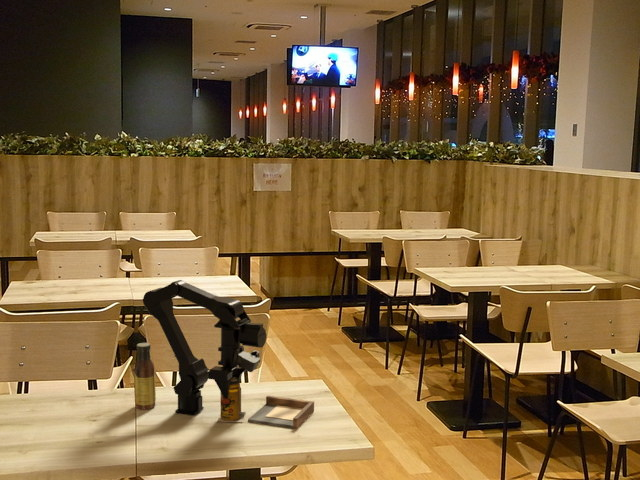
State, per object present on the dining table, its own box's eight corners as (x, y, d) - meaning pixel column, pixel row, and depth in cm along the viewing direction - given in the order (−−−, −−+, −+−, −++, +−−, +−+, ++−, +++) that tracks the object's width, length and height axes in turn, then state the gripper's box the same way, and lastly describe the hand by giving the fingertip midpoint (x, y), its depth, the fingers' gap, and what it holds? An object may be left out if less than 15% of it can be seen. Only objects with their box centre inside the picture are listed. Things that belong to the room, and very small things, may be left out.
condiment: (216, 421, 231) (217, 381, 229) (222, 411, 239) (222, 373, 238) (241, 422, 230) (242, 382, 229) (246, 412, 239) (246, 374, 237)
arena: (248, 421, 231) (248, 412, 231) (267, 404, 246) (267, 395, 245) (297, 428, 227) (297, 418, 226) (314, 411, 241) (314, 401, 241)
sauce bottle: (142, 402, 246) (141, 340, 243) (159, 405, 244) (159, 342, 241) (130, 409, 240) (129, 345, 237) (147, 412, 238) (146, 347, 235)
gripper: (243, 354, 220) (242, 408, 222) (268, 338, 237) (267, 388, 239) (206, 350, 223) (206, 403, 225) (234, 334, 241) (234, 384, 243)
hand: (230, 394), depth 233 cm, fingers closed on condiment, 6 cm apart
